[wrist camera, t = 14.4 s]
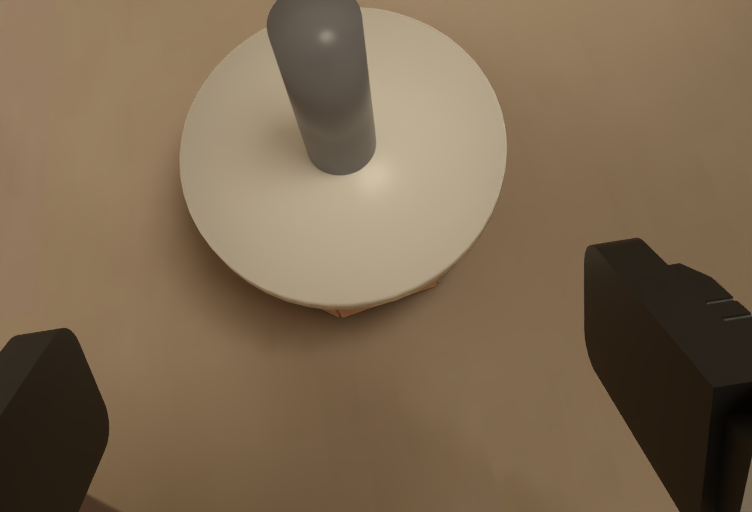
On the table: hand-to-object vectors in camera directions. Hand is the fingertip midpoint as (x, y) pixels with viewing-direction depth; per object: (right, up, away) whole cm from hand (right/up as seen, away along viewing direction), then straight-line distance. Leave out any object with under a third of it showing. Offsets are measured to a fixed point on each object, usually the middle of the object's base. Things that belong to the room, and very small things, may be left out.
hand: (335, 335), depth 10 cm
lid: (-1, +6, +19) cm, 20 cm away
